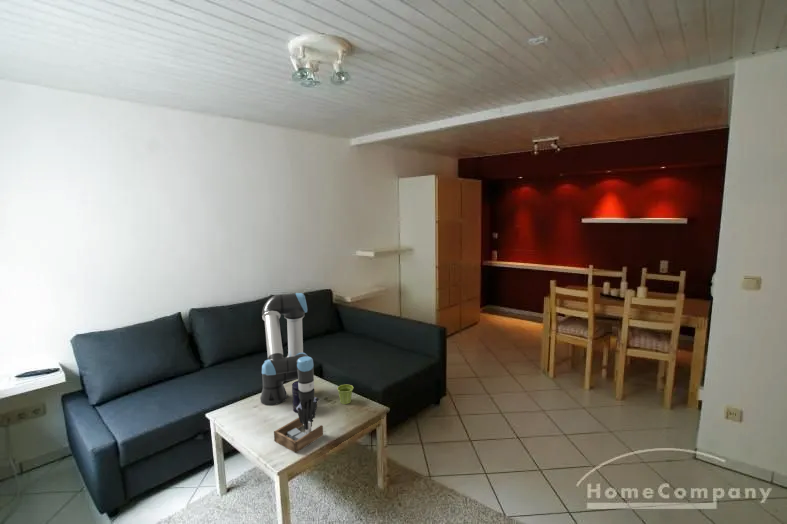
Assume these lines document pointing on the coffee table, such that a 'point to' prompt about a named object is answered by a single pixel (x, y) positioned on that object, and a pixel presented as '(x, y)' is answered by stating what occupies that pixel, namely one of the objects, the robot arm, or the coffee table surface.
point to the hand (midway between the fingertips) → (308, 434)
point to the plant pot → (345, 393)
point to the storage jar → (295, 396)
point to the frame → (300, 443)
